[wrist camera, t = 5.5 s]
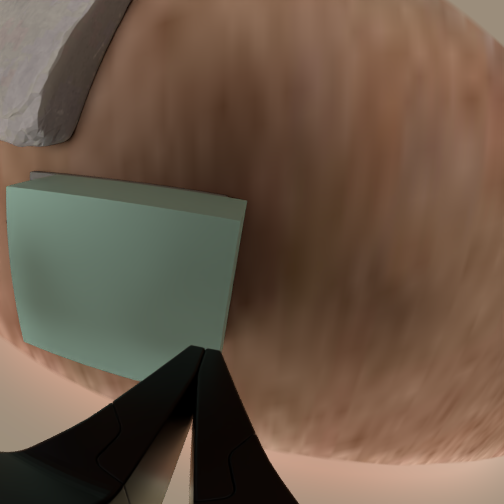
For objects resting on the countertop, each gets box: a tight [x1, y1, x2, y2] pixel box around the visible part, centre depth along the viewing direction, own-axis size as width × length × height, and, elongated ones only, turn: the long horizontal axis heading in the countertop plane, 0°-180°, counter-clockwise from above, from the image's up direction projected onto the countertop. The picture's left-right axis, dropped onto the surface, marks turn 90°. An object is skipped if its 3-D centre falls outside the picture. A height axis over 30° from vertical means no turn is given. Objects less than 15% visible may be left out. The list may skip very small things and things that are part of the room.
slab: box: [6, 174, 247, 381], centre depth 12 cm, size 4×7×9 cm
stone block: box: [0, 0, 131, 147], centre depth 9 cm, size 12×5×10 cm
